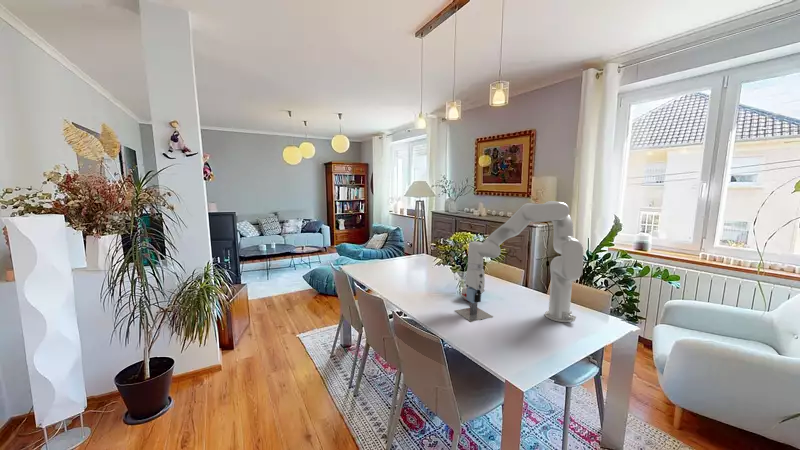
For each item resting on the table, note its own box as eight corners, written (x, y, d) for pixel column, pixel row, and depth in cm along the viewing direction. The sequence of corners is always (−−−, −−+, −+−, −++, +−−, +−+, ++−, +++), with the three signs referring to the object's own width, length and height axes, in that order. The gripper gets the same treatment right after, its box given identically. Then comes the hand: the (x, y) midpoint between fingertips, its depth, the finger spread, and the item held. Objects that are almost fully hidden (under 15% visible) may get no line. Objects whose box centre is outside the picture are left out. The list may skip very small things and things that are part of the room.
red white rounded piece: (471, 293, 188) (486, 305, 174) (455, 295, 184) (469, 307, 170) (472, 280, 186) (488, 290, 172) (456, 281, 182) (471, 293, 168)
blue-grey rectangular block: (480, 301, 157) (481, 289, 156) (472, 303, 155) (473, 290, 154) (474, 298, 161) (475, 286, 161) (466, 299, 159) (466, 287, 158)
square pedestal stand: (493, 317, 155) (493, 303, 154) (470, 321, 150) (471, 307, 149) (475, 307, 168) (476, 294, 167) (454, 311, 162) (454, 297, 162)
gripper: (492, 269, 149) (490, 304, 152) (471, 261, 165) (469, 293, 167) (480, 270, 146) (478, 307, 149) (459, 262, 162) (458, 295, 164)
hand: (473, 299), depth 158 cm, fingers closed on blue-grey rectangular block, 5 cm apart
